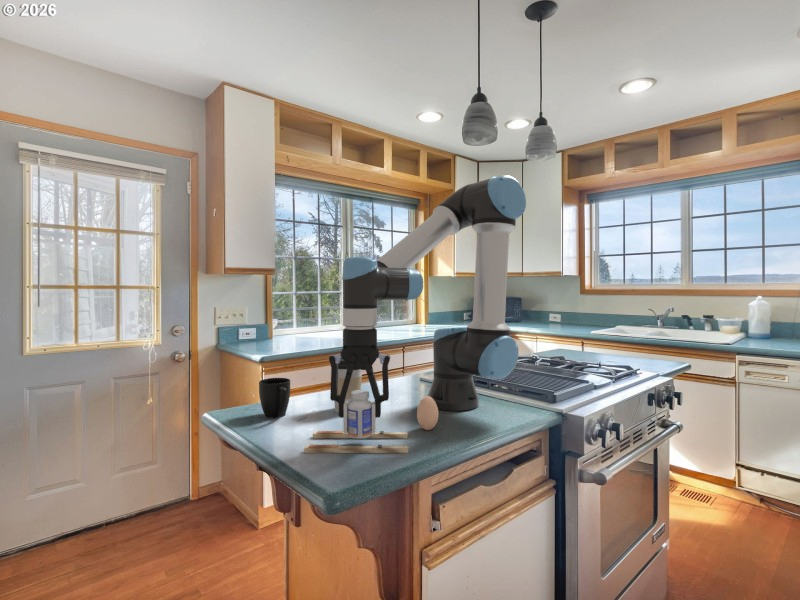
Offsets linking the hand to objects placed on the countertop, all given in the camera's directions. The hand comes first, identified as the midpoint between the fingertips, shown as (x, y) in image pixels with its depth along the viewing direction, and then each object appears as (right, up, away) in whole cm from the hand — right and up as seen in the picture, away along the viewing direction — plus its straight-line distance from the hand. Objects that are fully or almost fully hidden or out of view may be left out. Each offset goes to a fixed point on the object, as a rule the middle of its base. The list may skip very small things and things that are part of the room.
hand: (360, 431), depth 95 cm
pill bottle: (0, -1, 0) cm, 1 cm away
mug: (-24, -3, +20) cm, 32 cm away
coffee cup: (-6, -2, +27) cm, 28 cm away
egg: (+16, -3, +10) cm, 19 cm away
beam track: (0, -3, 0) cm, 3 cm away
